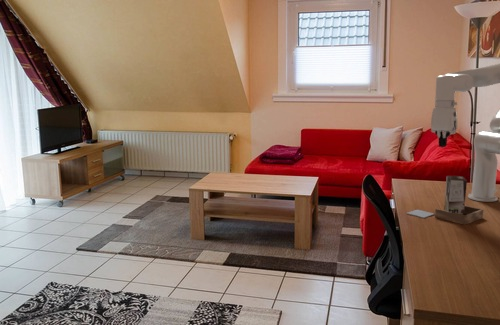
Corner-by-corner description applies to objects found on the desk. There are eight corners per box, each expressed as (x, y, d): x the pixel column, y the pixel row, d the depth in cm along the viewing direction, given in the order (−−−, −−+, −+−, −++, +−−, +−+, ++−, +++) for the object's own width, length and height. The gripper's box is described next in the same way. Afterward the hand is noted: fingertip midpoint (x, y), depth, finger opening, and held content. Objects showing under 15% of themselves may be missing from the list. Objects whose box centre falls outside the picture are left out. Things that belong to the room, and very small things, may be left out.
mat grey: (417, 210, 208) (417, 209, 208) (434, 214, 202) (434, 213, 201) (406, 213, 203) (406, 212, 203) (423, 218, 197) (423, 217, 196)
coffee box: (464, 219, 195) (467, 180, 192) (446, 218, 196) (450, 179, 193) (459, 213, 203) (463, 175, 200) (443, 212, 205) (446, 175, 202)
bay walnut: (453, 211, 207) (453, 203, 206) (482, 218, 197) (483, 209, 197) (434, 217, 198) (435, 208, 197) (464, 224, 188) (465, 216, 188)
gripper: (465, 104, 205) (463, 147, 209) (432, 103, 216) (431, 143, 220) (456, 105, 200) (454, 149, 204) (423, 104, 211) (422, 146, 215)
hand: (442, 146), depth 212 cm, fingers closed
